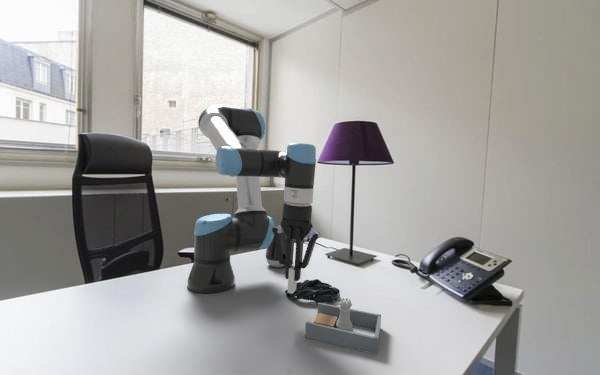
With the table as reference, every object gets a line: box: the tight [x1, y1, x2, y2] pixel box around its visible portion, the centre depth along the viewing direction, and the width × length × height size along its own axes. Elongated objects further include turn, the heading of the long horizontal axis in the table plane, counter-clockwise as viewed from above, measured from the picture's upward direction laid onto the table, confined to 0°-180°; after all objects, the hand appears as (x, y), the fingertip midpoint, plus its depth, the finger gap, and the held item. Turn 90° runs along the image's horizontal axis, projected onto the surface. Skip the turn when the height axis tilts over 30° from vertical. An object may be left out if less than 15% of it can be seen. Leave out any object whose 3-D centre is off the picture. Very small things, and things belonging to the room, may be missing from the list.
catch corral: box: [304, 303, 382, 355], centre depth 73 cm, size 17×12×4 cm
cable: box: [284, 278, 341, 304], centre depth 95 cm, size 17×14×4 cm
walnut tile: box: [313, 313, 338, 328], centre depth 75 cm, size 5×5×2 cm
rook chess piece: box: [335, 297, 354, 332], centre depth 74 cm, size 4×4×8 cm
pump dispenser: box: [265, 231, 287, 268], centre depth 121 cm, size 10×10×15 cm
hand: (291, 291), depth 78 cm, fingers closed
